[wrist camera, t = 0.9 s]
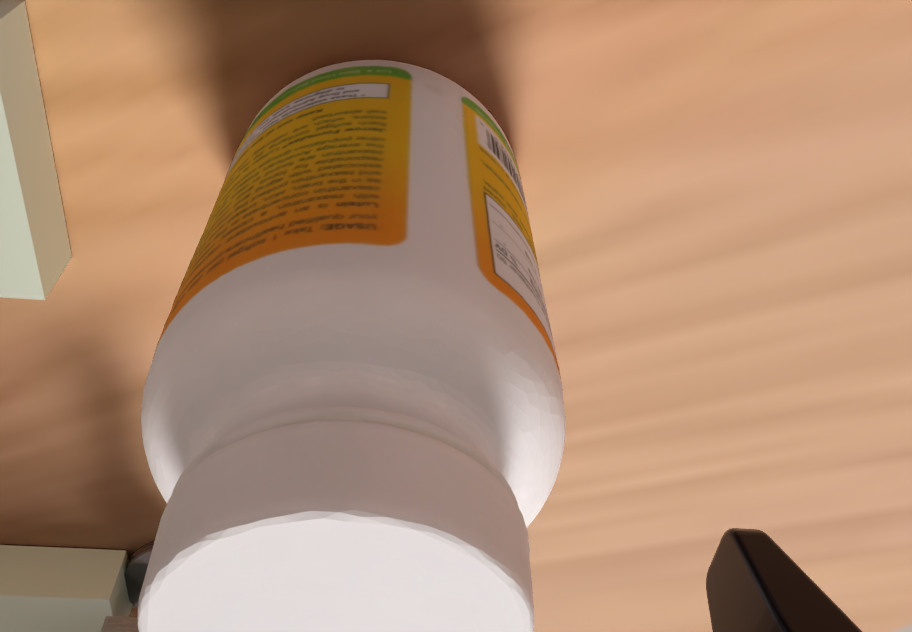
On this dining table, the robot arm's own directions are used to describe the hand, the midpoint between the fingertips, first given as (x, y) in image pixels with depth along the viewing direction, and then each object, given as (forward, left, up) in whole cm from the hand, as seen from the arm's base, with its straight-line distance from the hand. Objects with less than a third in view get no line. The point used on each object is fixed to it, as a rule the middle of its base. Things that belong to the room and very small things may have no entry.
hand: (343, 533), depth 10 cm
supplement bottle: (0, 0, -8) cm, 8 cm away
